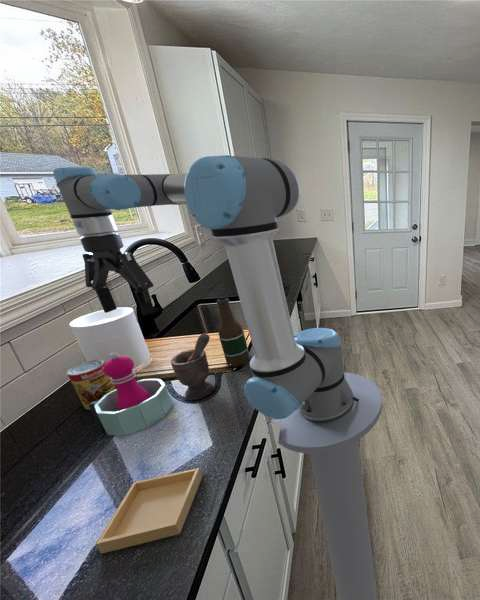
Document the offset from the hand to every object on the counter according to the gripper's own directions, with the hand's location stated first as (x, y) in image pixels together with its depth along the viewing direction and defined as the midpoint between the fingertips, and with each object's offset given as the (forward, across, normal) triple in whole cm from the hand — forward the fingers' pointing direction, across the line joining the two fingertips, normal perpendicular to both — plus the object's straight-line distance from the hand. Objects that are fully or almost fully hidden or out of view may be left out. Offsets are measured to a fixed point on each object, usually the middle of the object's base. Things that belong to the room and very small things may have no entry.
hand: (129, 312), depth 86 cm
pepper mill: (+28, +3, -9) cm, 29 cm away
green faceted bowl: (+27, +2, -9) cm, 29 cm away
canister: (+28, -28, +10) cm, 41 cm away
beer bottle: (+28, +11, +20) cm, 36 cm away
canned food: (+28, -16, -6) cm, 32 cm away
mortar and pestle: (+28, +13, +3) cm, 31 cm away
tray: (+28, +34, -30) cm, 53 cm away
